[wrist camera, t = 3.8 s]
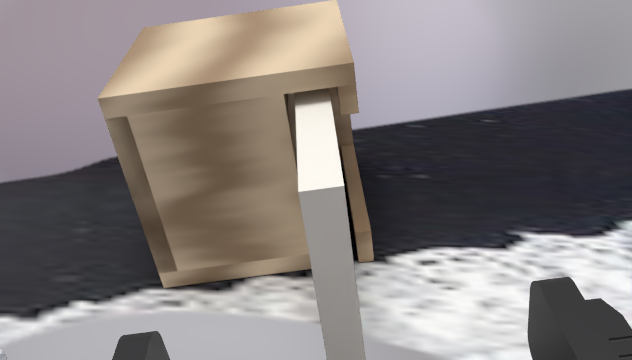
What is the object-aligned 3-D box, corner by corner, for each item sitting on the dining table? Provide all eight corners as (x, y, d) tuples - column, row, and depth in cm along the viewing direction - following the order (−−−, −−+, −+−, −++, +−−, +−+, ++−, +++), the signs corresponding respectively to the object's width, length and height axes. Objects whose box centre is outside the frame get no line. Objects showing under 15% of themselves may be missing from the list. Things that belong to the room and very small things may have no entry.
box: (163, 287, 32) (97, 98, 26) (189, 187, 41) (143, 27, 35) (374, 260, 32) (353, 62, 26) (355, 164, 40) (336, -1, 34)
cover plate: (329, 374, 26) (298, 191, 21) (317, 224, 35) (294, 73, 30) (366, 370, 26) (344, 185, 21) (345, 220, 35) (325, 69, 30)
